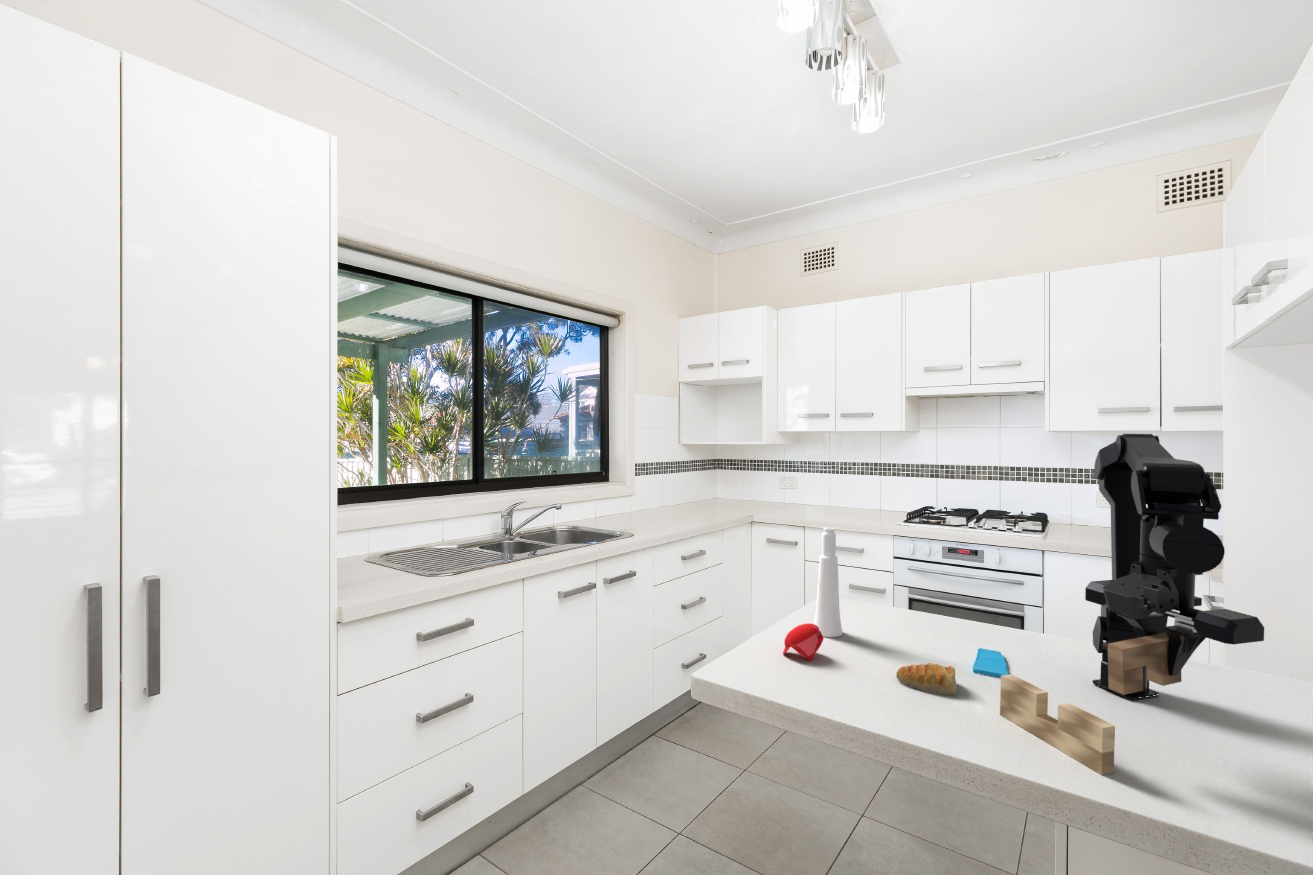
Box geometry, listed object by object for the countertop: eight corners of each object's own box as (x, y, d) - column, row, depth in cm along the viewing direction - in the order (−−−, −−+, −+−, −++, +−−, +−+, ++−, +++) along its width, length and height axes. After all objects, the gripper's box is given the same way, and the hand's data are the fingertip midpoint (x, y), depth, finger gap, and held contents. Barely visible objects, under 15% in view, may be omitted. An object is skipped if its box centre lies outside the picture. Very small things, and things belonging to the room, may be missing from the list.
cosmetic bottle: (843, 638, 123) (845, 531, 123) (812, 636, 125) (814, 529, 124) (841, 628, 129) (843, 526, 128) (812, 626, 130) (813, 524, 130)
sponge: (1013, 654, 114) (978, 644, 117) (1010, 677, 104) (972, 665, 107) (1011, 662, 114) (977, 651, 117) (1008, 685, 104) (971, 673, 107)
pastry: (896, 689, 101) (896, 666, 101) (896, 673, 107) (896, 652, 107) (959, 699, 97) (959, 675, 97) (955, 682, 104) (955, 660, 104)
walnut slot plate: (1165, 675, 83) (1164, 632, 83) (1181, 681, 81) (1180, 637, 81) (1108, 688, 80) (1107, 643, 80) (1123, 694, 78) (1122, 649, 78)
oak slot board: (999, 714, 92) (1000, 675, 92) (1010, 712, 92) (1011, 674, 92) (1101, 774, 76) (1102, 727, 76) (1113, 772, 77) (1115, 725, 77)
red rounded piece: (824, 633, 117) (798, 614, 119) (830, 633, 112) (801, 613, 113) (803, 669, 116) (776, 649, 117) (807, 670, 110) (778, 650, 112)
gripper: (1056, 545, 88) (1053, 651, 88) (1201, 577, 70) (1196, 711, 70) (1116, 541, 91) (1113, 644, 91) (1269, 572, 73) (1264, 700, 73)
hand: (1163, 671), depth 81 cm, fingers closed on walnut slot plate, 2 cm apart
